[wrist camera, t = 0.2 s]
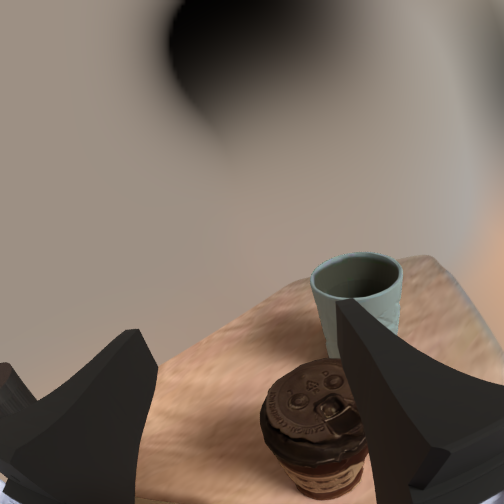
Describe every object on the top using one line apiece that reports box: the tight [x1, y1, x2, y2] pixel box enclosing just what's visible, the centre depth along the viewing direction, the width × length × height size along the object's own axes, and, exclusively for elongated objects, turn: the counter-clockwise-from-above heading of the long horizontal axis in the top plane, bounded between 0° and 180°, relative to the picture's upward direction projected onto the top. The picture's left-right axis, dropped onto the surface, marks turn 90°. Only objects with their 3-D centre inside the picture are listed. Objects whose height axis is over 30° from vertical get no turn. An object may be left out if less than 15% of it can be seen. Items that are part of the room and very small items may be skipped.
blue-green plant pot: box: [310, 252, 403, 358], centre depth 33 cm, size 10×10×12 cm
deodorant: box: [0, 362, 37, 419], centre depth 22 cm, size 6×6×15 cm
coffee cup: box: [260, 358, 369, 500], centre depth 19 cm, size 9×8×13 cm
